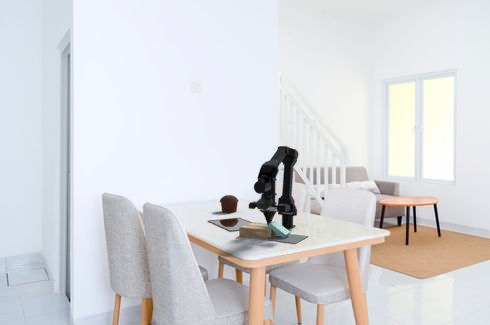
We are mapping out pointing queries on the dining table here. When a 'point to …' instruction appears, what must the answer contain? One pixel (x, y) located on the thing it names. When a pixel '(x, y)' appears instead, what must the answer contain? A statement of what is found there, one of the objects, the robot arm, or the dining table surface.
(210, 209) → the dining table surface
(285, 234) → the teal rectangular block
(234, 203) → the muffin
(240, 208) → the dining table surface
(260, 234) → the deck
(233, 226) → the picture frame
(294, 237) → the mat
